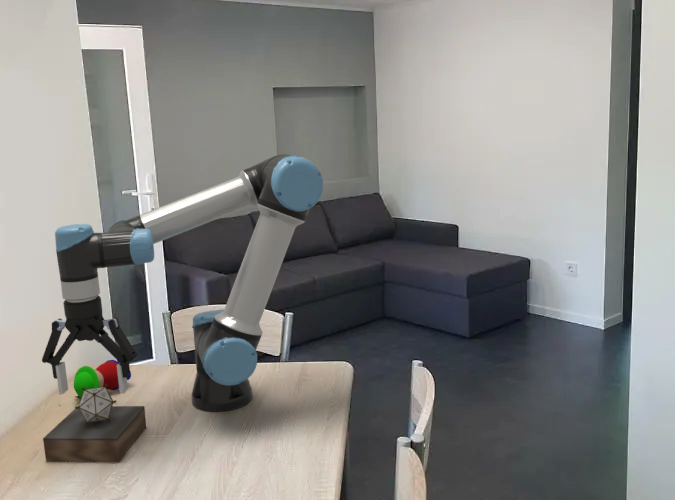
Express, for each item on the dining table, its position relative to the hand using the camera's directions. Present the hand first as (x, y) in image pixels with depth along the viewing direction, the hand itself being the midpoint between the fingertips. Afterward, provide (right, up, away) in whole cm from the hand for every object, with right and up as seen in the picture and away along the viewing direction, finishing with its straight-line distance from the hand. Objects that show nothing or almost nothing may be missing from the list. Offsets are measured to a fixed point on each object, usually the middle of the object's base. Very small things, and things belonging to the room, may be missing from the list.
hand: (93, 391), depth 148 cm
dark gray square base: (0, -12, +2) cm, 12 cm away
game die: (+1, -7, +1) cm, 7 cm away
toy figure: (-8, -7, +30) cm, 32 cm away
